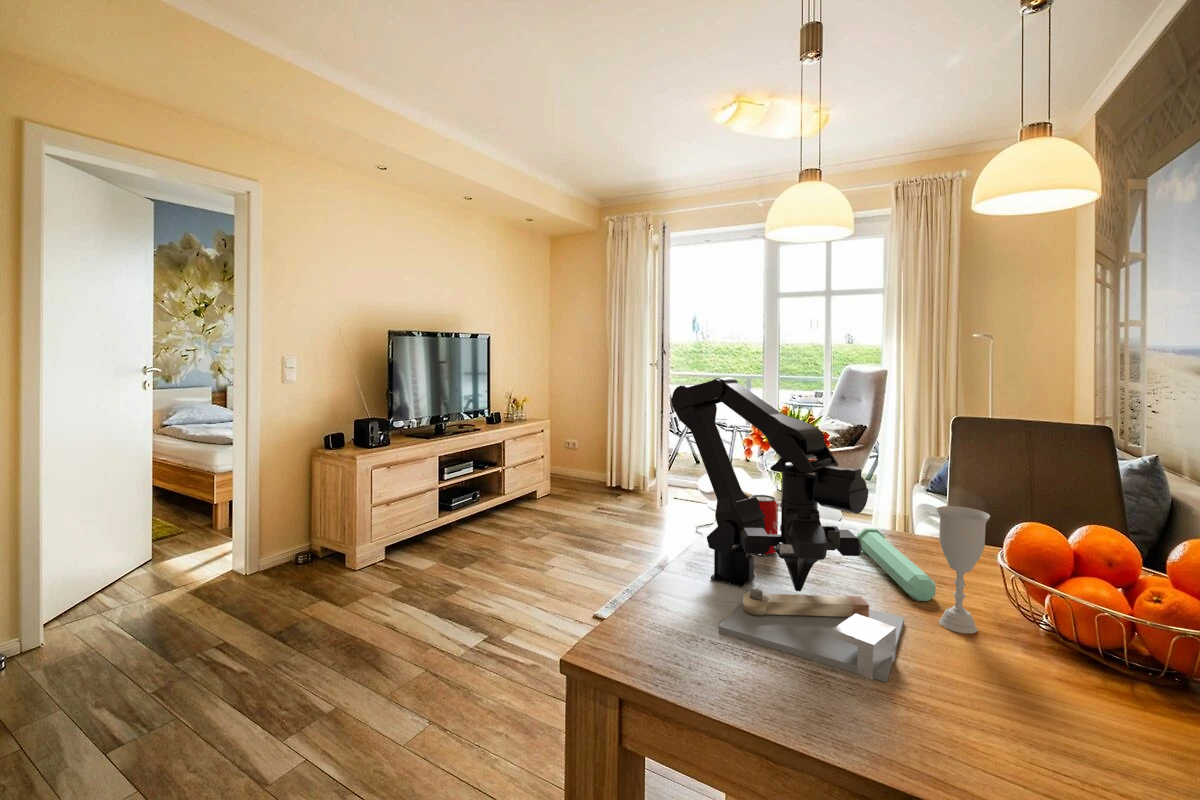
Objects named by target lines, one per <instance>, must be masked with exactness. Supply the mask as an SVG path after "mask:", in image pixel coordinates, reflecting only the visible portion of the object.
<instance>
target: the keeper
mask: <svg viewBox="0 0 1200 800" xmlns="http://www.w3.org/2000/svg"><path fill="white" fill-rule="evenodd" d="M832 636H833V637H836V638H839V639H841V640H844V641H846V642H849V643H851V644H854V645H856V646H858V656H857V673H856V674H857V675H859V676H861V677H864V678H866V679H868V680H871V681H874V680H875V679H874V675H875V671H876V670H877V669H878V668H879V667H880V666H882V665H883V664H884V663H885V662H886V661H887V660H889V659H890V658H891V657H892V656H893V659H892V664H893V663H894V662H895V661H896V653H895V646H896V627H894V626H891V625H888V624H885V623H882V622H879V621H876V620H874V619H871V618H868V617H865V616H862V615H859V614H854V615H853V616H851V617H850V618H848V619H847V620H845V621H844V622H842V623H841V624H839V625H838V626H836V627H835V628H833V629H832Z"/></svg>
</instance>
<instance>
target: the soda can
mask: <svg viewBox="0 0 1200 800" xmlns="http://www.w3.org/2000/svg"><path fill="white" fill-rule="evenodd" d="M752 497H756V498H757V499H758V501H759V504H760V508H761V510H762V512H763V514H764V515H765V516H766V517H765V518H763V519H764V522H765V529H764V530H765V531H766V533H767V534H771V535H778V527H779V526H778V525H779V522H778V521H779V518H778V517H779V505H778V503H777V501H776V497H774V496H772V495H767V494H754V495H751V496H750V498H752ZM775 553H776V551H775V550H774V548H773V546H770V550H769V551H767V552H766V553H765V554H761V555H760V556H762V555H767V556H770V555H769V554H771V555H773V554H775Z"/></svg>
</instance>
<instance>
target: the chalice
mask: <svg viewBox="0 0 1200 800" xmlns="http://www.w3.org/2000/svg"><path fill="white" fill-rule="evenodd" d="M936 511H937V513H938V515H939V537H938V540H939V544H940V547H941V550H942V553H943V555H944V557H945V559H946V561H947V564H948V565H949V568H950V569H952V570H953V571H955V573H956V577H955V580H954V582H953V583H954V585H955V592H953V593H952V595H953V597H954V599H955V600H954V601H955V603H954V605H952V606H951V607H948V608H946V609H945V610H944V613H943V614H942V616H941V618H940V619H939V622H938V623H939V624H940V626H942V627H943V628H945V629H947V630H950V631H952V632H955V633H959V634H975V633H977V632H978V628H977V626H976V622H975V620H974V618H973V615H972V614H971V613H970V612H969V611H968V610H966V609H965V607H964V605H963V601H964V599H966V597H967V595H966V594H965V593H964V587H965V586H966V585H967V584H966V583H965V579H964V578H965V577H964V575H965V574H966V573H970V572H972V570H973V569H974V567H975V566H976V564H977V563H978V561H979V560H980V558H981V556H982V555H983V552H984V550H985V546H986V542H985V541H986V524H987V522H988V521H989V519H990V518H991V515H990V514H989V513H988V512H985V511H984V510H983V511H982V510H980V509H977V508H976V509H975V508H971V507H964V506H958V505H957V506H954V505H944V506H943V505H942V506H939V507H937V508H936Z"/></svg>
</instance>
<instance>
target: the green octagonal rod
mask: <svg viewBox="0 0 1200 800" xmlns="http://www.w3.org/2000/svg"><path fill="white" fill-rule="evenodd" d="M856 537H857V538H858V539H859V540H860V541H861V545H862V552H861V553H863V554H867V555H868V556H869V557H870V558H871V559H872V560H873V561H874V562H875V563H876V564H877V565H879V567H880V568H881V569H882V570H883V571H884V572H885V573H886V574H887V575H888V576H890V578H891V579H892V580H894V582H895V583H896V584H898V585H899V587H901V589H902V590H904V592H906V594H908V595H909V597H910V598H912V600H914V601H918V602H919V601H920V602H929V601H930V600H932V599H933V598H934V597H935V596H936V582H935V581H934V580H933V579H932V578H931V577H930V576H929V575H928V574H926V572H925V571H923V569H921V567H919V566H917V565H916V564H915V563H914V562H913V561H911V560H910V559H909V558H908V557H907V556H905V554H904V553H903V552H901V551H900V550H899V549H897V547H895V546H894V545H893V544H892V543H890V542H889V541H888V540H887V539H886V536H885V535H883V534H882V532H880V531H879V530H878V529H877V528H869V527H867V528H866V527H865V528H863V529H862V530H861V531H860V532H858V534H856Z"/></svg>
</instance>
